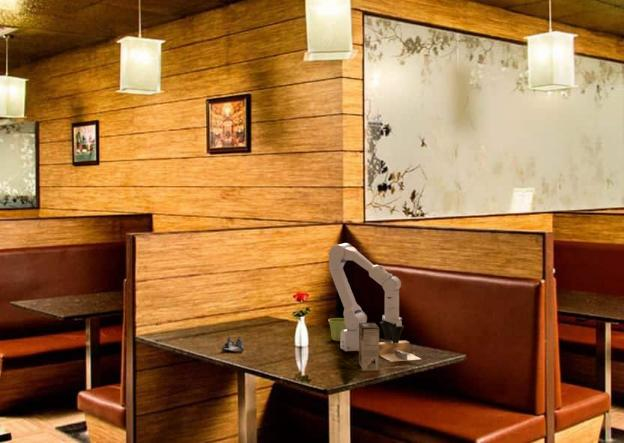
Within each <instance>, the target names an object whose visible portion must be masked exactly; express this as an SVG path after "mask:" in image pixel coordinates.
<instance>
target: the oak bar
mask: <svg viewBox="0 0 624 443" xmlns="http://www.w3.org/2000/svg"><path fill="white" fill-rule="evenodd" d="M395 350H401V351H403V352H405V353H407V352H408V353H410V341H407V340H405V339H404V340H399V342H398V343H393V341H391V340H390V341H379V356H380V355H381V354H394V353H395Z"/></svg>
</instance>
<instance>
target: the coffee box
mask: <svg viewBox="0 0 624 443" xmlns="http://www.w3.org/2000/svg"><path fill="white" fill-rule="evenodd" d="M379 342H380V327H379V326H378V325H377V324H376V323H375V322H366V323H359V351H358V364H359V366H360V367H361V370H362V371H366V372H367V371H379V364H380V363H379V361H380V359H379V358H380V355H379Z"/></svg>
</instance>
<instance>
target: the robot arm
mask: <svg viewBox="0 0 624 443" xmlns="http://www.w3.org/2000/svg"><path fill="white" fill-rule="evenodd" d="M328 257H329V259H328V269H329V272H330V275H331V277H332V280H333V283H334V285H335V288H336V291H337V292H338V295H339V296H338V297H339V298H340V300H341V303H342V306H343V308H344V309H343V315H342V316H343V318H345V320H344V323H345V325H346V327H347V329H345V330H342V331H341V335H340V341H339V342H340V343H339V344H340V349H341V350H343V351H344V352H355V351H356V352H359V323H368V322H367V321H368V315H367V314H366V313H365V312H364V311H363V310H362V307H361V306H360V305H359V304H358V303H357V301H356V298H355V296H354V293H353V291H352V289H351V286H350V283H349V282H348V281H349V280H348V278H347V276H346V273H345V271H344V266H345V264H346V262H347V261H353V262H354V263H356V264H357V265H359V266H360V267H361V268H363V269H364V270H366V271H367V272H368V276H369V277H370V278H371V279H373V280H374V281H375V282H376V283H378V284H379V285H380V286H382V287H381V288H382V289H383V291H384V314H383V315H382V316H381V317H382V318H381V320H382V321H379V324H380V326H381V328H382V332H383V337H384V340H391V338H392V341H393V343H398V342H399V341H400V338H401V335H402V332H403V331H404V328H405V326H404V325H403V324H402V320H403V318H402V317H400V288H402V280H400V279H399V277H398V276H397V275H396V276H395V275H393V273H389V272H388V271H387V270H386V269H385V268H384V266H383V265H379V264H373V263H372V262H371V261H370V260H368V258H366V257H365V256H364V255H362V253H361V252H359V251H358V250H357V248H355V247H354V246H352V244H350V243H348V242H344V243H340V244H335V245H332V246H331V247H330V249H329V252H328Z"/></svg>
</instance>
